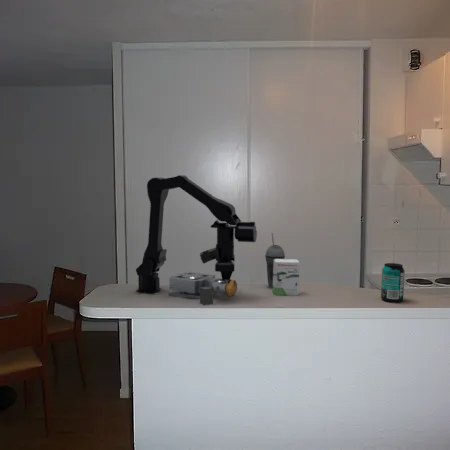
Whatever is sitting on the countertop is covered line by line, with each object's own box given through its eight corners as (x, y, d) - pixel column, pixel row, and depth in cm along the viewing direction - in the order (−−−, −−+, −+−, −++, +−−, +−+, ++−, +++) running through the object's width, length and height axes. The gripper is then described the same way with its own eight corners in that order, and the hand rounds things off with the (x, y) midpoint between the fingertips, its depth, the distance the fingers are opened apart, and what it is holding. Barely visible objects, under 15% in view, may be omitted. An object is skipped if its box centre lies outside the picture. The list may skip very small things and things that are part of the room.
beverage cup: (283, 289, 179) (284, 234, 177) (263, 288, 180) (264, 233, 178) (285, 285, 186) (286, 232, 184) (265, 284, 187) (266, 231, 185)
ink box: (274, 295, 171) (274, 261, 170) (272, 291, 176) (272, 258, 175) (299, 295, 171) (300, 261, 170) (296, 291, 176) (297, 258, 175)
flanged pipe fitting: (167, 291, 170) (167, 275, 170) (188, 284, 181) (188, 269, 180) (222, 300, 159) (223, 283, 158) (242, 292, 169) (242, 276, 169)
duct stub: (169, 295, 169) (169, 278, 168) (183, 288, 180) (183, 271, 179) (201, 299, 165) (202, 281, 164) (214, 291, 176) (215, 274, 175)
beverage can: (396, 297, 170) (398, 262, 168) (407, 302, 163) (409, 266, 162) (377, 298, 168) (378, 262, 167) (387, 303, 162) (388, 266, 160)
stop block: (199, 303, 160) (199, 287, 160) (207, 301, 162) (207, 286, 161) (205, 304, 158) (205, 289, 157) (212, 303, 160) (212, 288, 159)
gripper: (203, 236, 177) (203, 279, 179) (199, 246, 158) (199, 293, 160) (234, 236, 177) (234, 279, 179) (234, 246, 158) (234, 294, 160)
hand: (225, 286), depth 170 cm, fingers closed
